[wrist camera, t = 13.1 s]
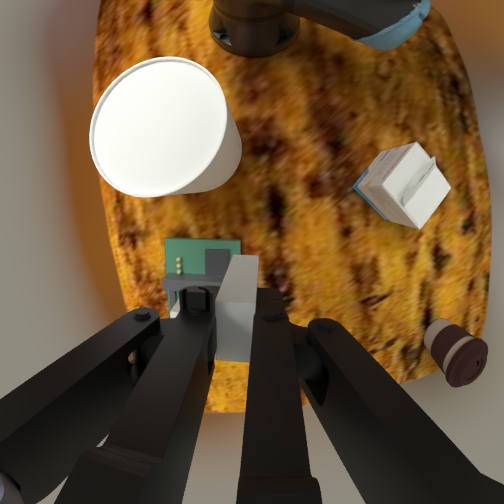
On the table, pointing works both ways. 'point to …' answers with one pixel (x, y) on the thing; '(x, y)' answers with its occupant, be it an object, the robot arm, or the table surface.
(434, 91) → the table surface
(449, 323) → the coffee cup
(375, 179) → the ink box
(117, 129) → the canister
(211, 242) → the board
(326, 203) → the table surface
